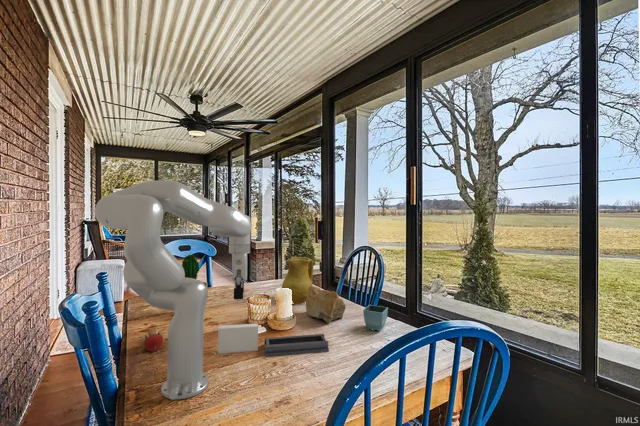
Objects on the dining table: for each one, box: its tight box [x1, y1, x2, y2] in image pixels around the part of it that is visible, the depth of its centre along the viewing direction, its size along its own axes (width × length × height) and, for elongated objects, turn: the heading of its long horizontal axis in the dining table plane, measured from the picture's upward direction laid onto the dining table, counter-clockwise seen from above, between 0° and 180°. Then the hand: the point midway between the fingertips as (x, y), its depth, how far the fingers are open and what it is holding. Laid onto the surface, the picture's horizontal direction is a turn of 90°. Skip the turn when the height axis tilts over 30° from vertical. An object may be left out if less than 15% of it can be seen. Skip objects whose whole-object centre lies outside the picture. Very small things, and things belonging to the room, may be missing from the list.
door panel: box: [217, 323, 259, 355], centre depth 117 cm, size 4×14×9 cm, turn 102°
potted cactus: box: [181, 253, 209, 288], centre depth 152 cm, size 15×15×30 cm
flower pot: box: [362, 304, 389, 332], centre depth 139 cm, size 9×9×9 cm
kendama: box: [141, 328, 165, 353], centre depth 120 cm, size 8×6×18 cm
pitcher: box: [281, 256, 314, 305], centre depth 178 cm, size 17×19×25 cm
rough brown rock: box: [305, 285, 347, 324], centre depth 152 cm, size 23×17×15 cm
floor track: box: [263, 333, 330, 358], centre depth 119 cm, size 10×23×3 cm, turn 102°
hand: (238, 295), depth 116 cm, fingers open, 9 cm apart
